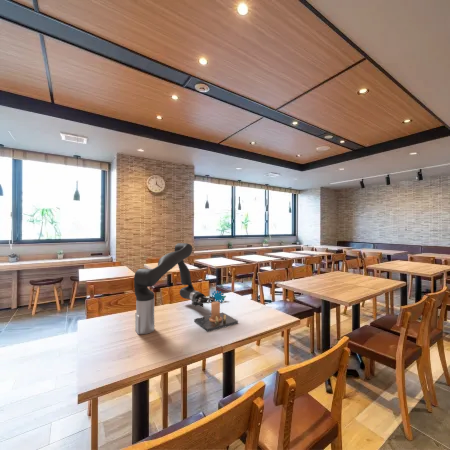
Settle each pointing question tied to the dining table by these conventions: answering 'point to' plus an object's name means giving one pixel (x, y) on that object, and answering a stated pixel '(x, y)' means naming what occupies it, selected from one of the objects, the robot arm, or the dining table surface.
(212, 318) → the orange flanged cylinder
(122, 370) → the dining table surface
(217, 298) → the teal spiky virus model
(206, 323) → the base plate
